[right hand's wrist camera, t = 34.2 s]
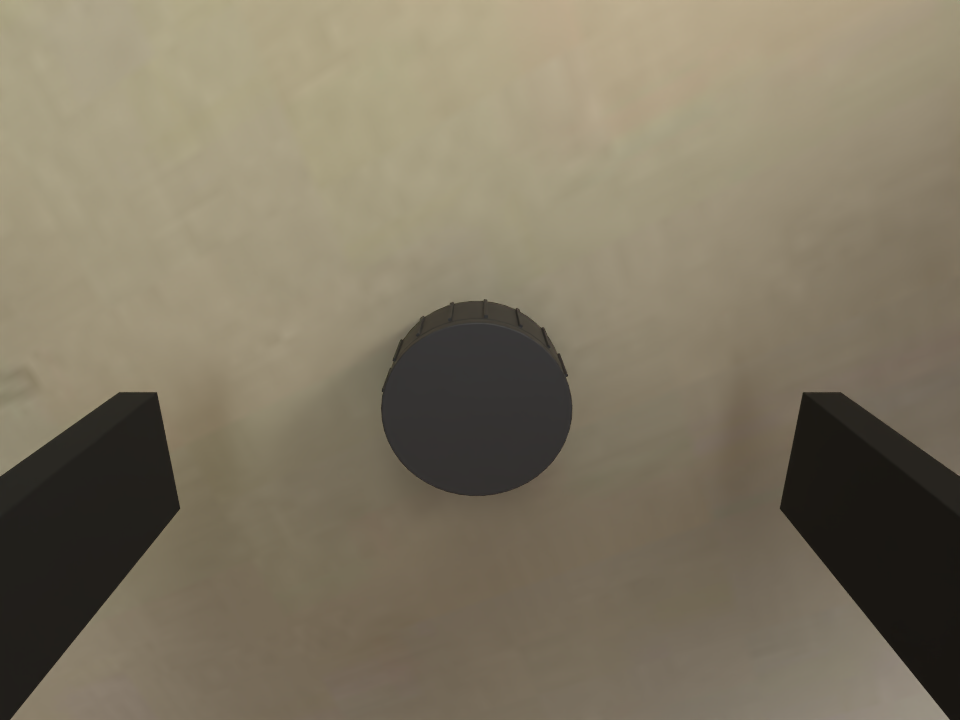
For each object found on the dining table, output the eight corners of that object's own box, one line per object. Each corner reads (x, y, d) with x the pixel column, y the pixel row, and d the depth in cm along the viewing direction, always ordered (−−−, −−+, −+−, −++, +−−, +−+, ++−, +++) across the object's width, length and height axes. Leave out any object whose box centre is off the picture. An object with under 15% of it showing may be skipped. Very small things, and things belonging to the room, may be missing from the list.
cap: (590, 418, 16) (604, 453, 15) (440, 483, 17) (436, 525, 15) (519, 268, 15) (525, 286, 13) (358, 346, 16) (342, 373, 14)
